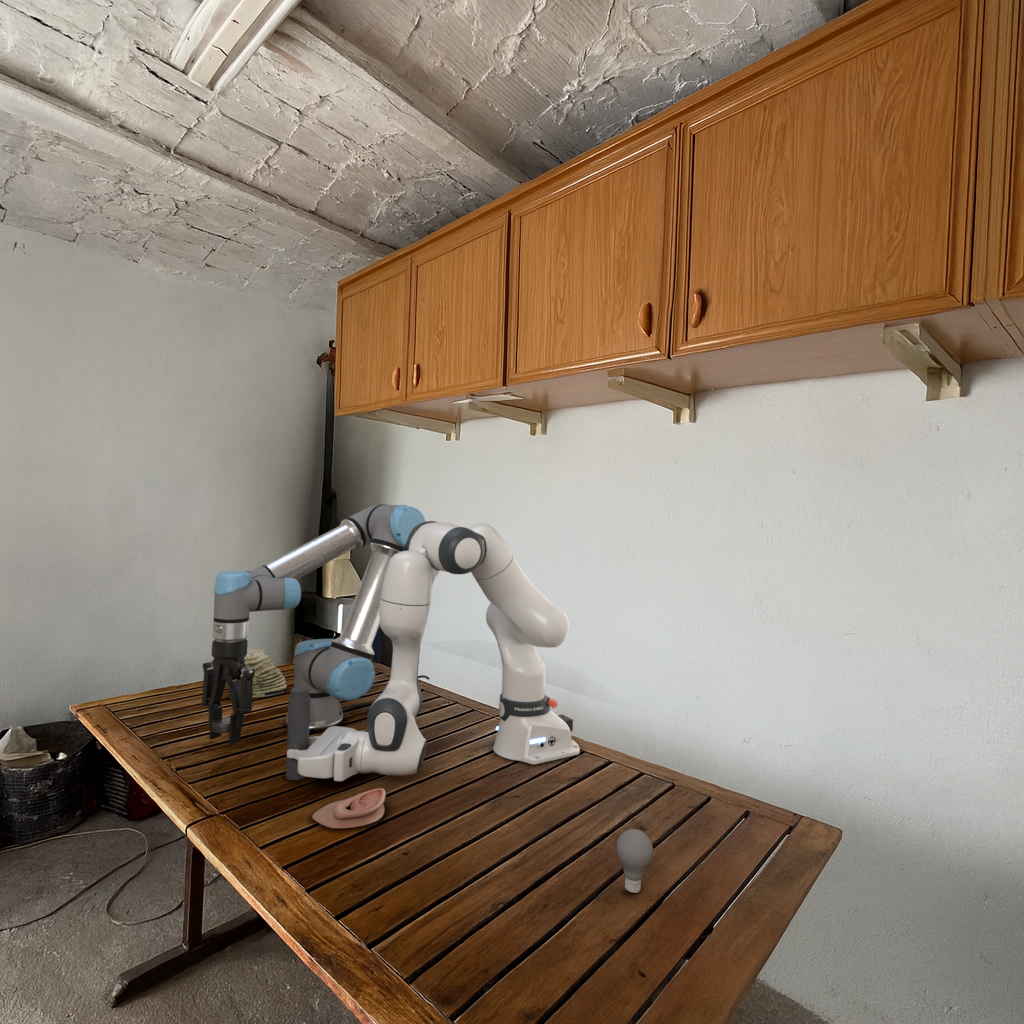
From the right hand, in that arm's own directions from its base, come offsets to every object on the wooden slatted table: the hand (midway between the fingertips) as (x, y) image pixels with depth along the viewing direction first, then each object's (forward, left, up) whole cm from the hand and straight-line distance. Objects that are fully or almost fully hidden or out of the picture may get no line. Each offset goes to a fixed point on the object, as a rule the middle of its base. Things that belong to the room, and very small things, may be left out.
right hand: (293, 747), depth 143 cm
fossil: (+9, -62, -6) cm, 63 cm away
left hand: (+15, -8, 0) cm, 17 cm away
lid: (+15, -8, +4) cm, 17 cm away
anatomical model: (-10, +22, -6) cm, 25 cm away
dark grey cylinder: (-1, 0, -6) cm, 6 cm away
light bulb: (-51, +61, -6) cm, 80 cm away
